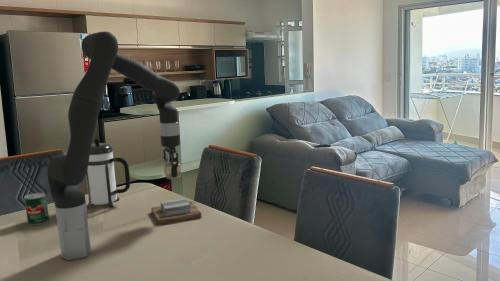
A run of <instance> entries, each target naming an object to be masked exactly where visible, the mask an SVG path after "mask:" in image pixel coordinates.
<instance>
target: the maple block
mask: <svg viewBox="0 0 500 281" xmlns="http://www.w3.org/2000/svg"><path fill="white" fill-rule="evenodd" d="M173 164H175V162H173ZM178 165H179V166H178V167H177V175H178V176H177V177H172V174H171V165H170V163H167V162H166V163H164V164H163V168H164V169H163V171H164V177H166V179H167V180H172V179H178V178H182V166H181V164H180V163H179V162H178Z"/></svg>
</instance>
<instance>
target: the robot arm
mask: <svg viewBox="0 0 500 281" xmlns="http://www.w3.org/2000/svg"><path fill="white" fill-rule="evenodd" d="M80 46H81V48H80V49H81V51H82V54H84V56H85V57H86V58H87V59H89V60H90V61H89V65H88V67H87V70H86V72H85V74H84V76H83V77H82V79H81V80H80V81H79V83H78V85H77V86H76V88H75V89H74V91H73V94H72V97H71V100H70V104H69V107H68V111H67V112H68V113H67V118H68V127H69V131H70V132H69V133H70V138H69V139H70V140H69V145H68V149H67V152H66V154H58V155H55V156H53V157H52V158H51V159H50V160H49V162H48V163H47V164H48V165H47V169H46V170H47V171H46V172H47V174H46V175H47V180H48V186H49V187H48V188H49V193H50V197H51V199H52V200H53V202H54V207H55V216H56V223H57V226H56V227H57V232H58V242H59V248H60V255H61V258H62V259H65V261H68V262H69V261H72V260H77V259H82V258H87V257H88V255H90V253H92V245H91V237H90V228H89V220H88V211H87V202H86V201H87V200H86V195H85V193H84V191H82V190H81V189H80V188H79V185H80V184H82V182H83V181H84V179H85V178H86V173H87V169H88V163H89V156H90V149H91V144H93V143H92V142H93V138H94V135H95V130H96V126H97V122H98V120H99V119H98V118H99V117H100V116H99V115H100V111H101V107H102V104H103V100H104V96H105V92H106V88H107V85H108V84H107V83H108V81H109V80H108V79H109V77H110V76H109V75H110V73H111V71H112V70H113V71H115V72H117V73H119V74H121V75H123V76H124V77H126V78H127V79H130V80H131V81H133V82H134V83H136V84H137V85H139V86H140V87H142V88H143V89H145V90H147V91H151V92H153V97H154V100H155V103H156V107H157V110H158V113H159V134H160V136H159V138H160V145H161V147H164V152H165V162H166V164H167V163H170V165H171V174H172V177H177V176H178V175H177V167H178V166H179V165H178V163H179V153H178V150H177V148H176V147H178V146H180V145H181V134H180V125H179V115H178V110H177V108H176V107H175V106H173V105H172V103H171V102H174V101H177V100H178V99H179V97H180V95H181V91H180V88H179V86H178V85H177V83H175V82H173V81H172V80H170V79H168V78H166V77H164V76H161V75H159V74H157V73H156V72H154V71H153V70H152V69H150V68H149V67H148V66H146V65H144V64H142V63H140V62H139V61H136V60H134V59H132V58H129V57H126V56H124V55H122V54H120V53H118V52H119V43H118V39H117V37H116V36H115V35H114V34H113V33H112V32H110V31H98V32H93V33H90V34H87V35H86V36H84V37H83V39H82V41H81V45H80ZM173 162H175V164H173Z"/></svg>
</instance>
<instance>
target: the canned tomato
mask: <svg viewBox="0 0 500 281" xmlns="http://www.w3.org/2000/svg"><path fill="white" fill-rule="evenodd" d="M23 199H24V205H25V213H26V219H27V224H28V225H30V226H38V225H42V224H47V223H48V222H49V221H50V214H49V209H48V208H49V207H48V200H47V194H46V193H45V192H34V193H29V194H26V195H24V196H23Z"/></svg>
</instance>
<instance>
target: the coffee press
mask: <svg viewBox="0 0 500 281" xmlns="http://www.w3.org/2000/svg"><path fill="white" fill-rule="evenodd" d="M93 141H94V143H92V144H91V149H90V156H89V163H88V169H87V173H86V176H85V178H86V187H87V195H88V196H87V198H88V203H87V204H86V209H87V208H88V209H89V210H91V209H92V208H93V206H103V205H108V207H109V208H114V203H113V202H115V201H117V202H118V201H119V200H120V198H119V197H118V194H124V193H126V192H128V191H129V189H130V187H131V175H130V167H129V163H128V162H127V160H126V159H125V158H122V157H114V147H112V145H111V144H109V143H106V142H105V143H104V142H100V141H101V140H100V138H98V137H97V138H94V140H93ZM115 162H118V163H121V164H122V165H123V168H124V178H125V186H124V188H117V182H116V172H115Z"/></svg>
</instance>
